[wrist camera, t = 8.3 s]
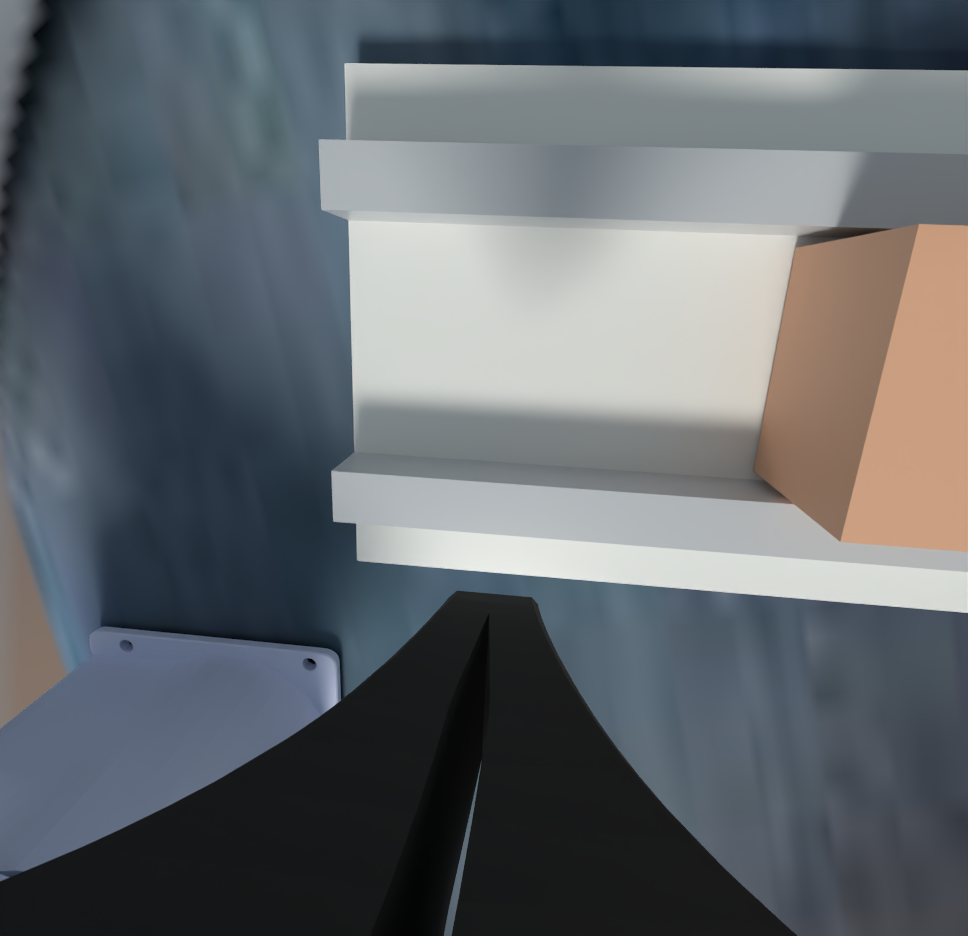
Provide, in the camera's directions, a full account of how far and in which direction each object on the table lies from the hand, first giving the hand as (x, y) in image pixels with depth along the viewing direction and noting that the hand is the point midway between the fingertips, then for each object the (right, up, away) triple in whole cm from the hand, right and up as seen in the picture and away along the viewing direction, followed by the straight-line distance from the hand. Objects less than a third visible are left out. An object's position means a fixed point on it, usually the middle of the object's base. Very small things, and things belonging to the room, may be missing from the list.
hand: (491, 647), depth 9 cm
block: (+10, +6, +6) cm, 13 cm away
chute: (+6, +6, +7) cm, 11 cm away
